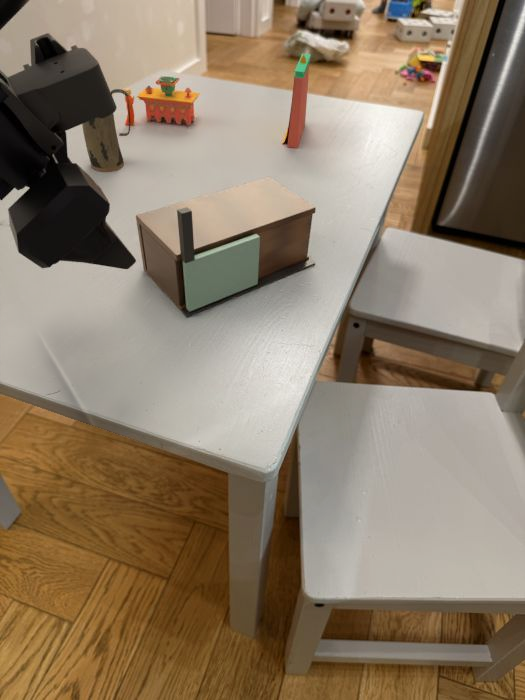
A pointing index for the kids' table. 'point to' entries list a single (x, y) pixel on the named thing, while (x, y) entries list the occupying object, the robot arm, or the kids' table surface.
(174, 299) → the cabinet
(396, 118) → the kids' table surface
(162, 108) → the building blocks
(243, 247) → the sliding door
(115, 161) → the mug
